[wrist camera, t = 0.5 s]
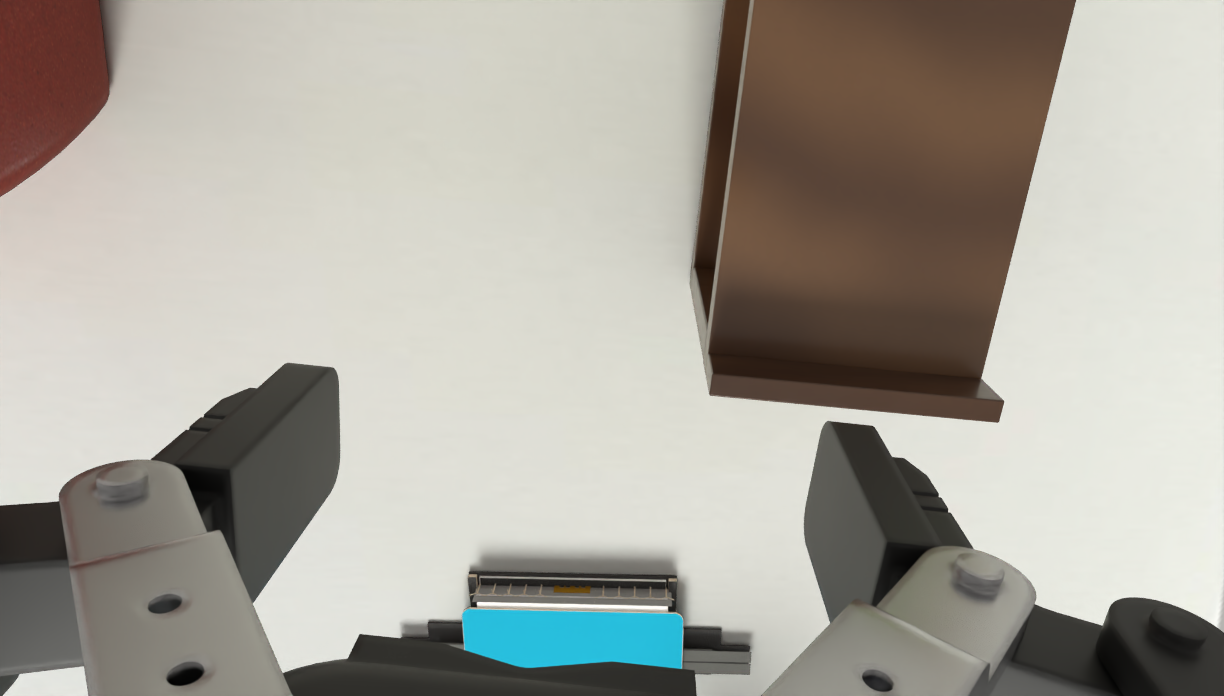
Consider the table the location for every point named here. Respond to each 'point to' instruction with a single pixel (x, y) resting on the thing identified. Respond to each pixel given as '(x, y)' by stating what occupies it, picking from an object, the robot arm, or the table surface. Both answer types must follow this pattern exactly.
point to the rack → (867, 196)
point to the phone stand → (584, 623)
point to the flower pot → (47, 81)
